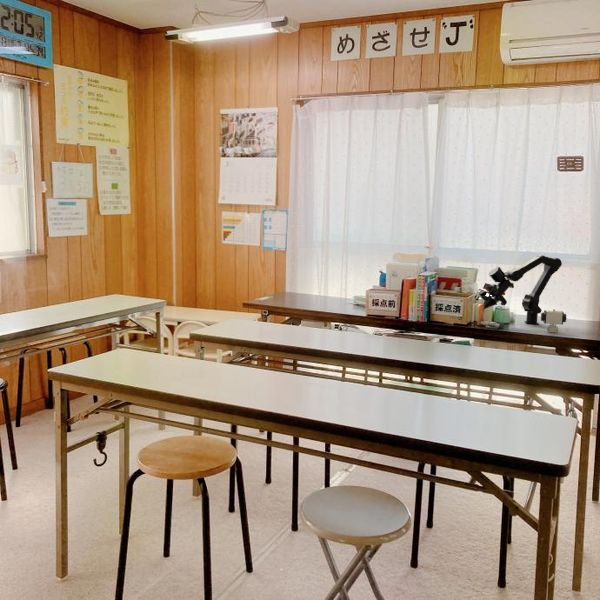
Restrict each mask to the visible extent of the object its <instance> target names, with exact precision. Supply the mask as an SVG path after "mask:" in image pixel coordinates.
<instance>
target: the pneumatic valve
mask: <svg viewBox="0 0 600 600" xmlns="http://www.w3.org/2000/svg"><path fill="white" fill-rule="evenodd" d="M540 321H541V322H543V323H544V325H545V324H549V325H547V327H546V332H548V333H549V332H559V327H558V326H557V325H562V326H563V324H564V323H567V313H564V311H563V310H556V309H555V308H553V309H552V310H548V309H547V310H546V309H544V310H543V312H541V313H540Z"/></svg>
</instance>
